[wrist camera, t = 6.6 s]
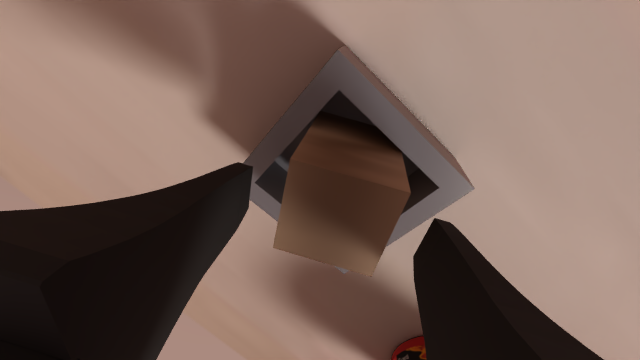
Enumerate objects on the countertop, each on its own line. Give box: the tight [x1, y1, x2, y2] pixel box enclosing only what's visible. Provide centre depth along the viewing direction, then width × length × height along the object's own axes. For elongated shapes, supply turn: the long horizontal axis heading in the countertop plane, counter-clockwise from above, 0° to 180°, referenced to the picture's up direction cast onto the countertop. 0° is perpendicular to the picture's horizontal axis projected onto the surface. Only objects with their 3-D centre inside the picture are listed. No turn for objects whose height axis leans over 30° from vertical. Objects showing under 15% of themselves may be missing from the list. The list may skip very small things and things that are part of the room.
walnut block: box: [273, 111, 411, 277], centre depth 12 cm, size 4×4×6 cm
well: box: [243, 45, 475, 274], centre depth 14 cm, size 8×8×3 cm
